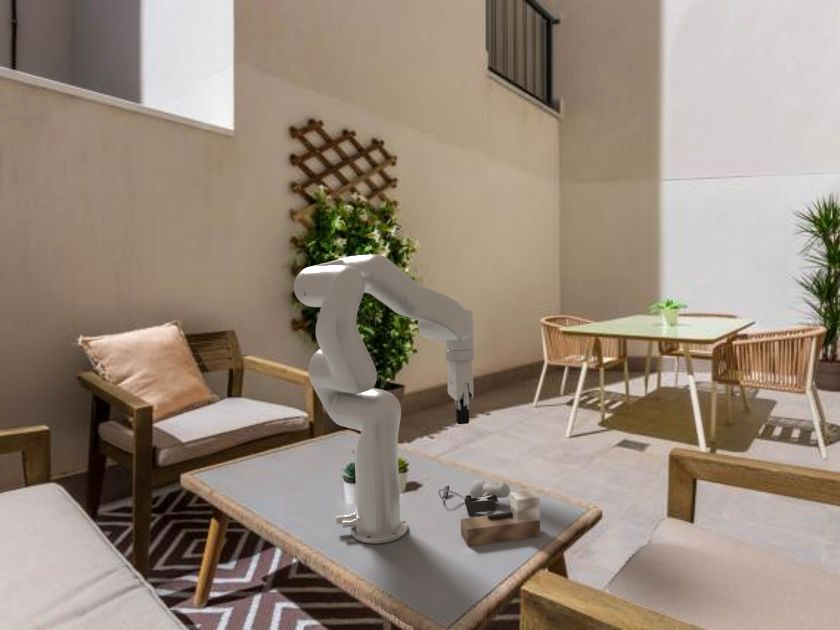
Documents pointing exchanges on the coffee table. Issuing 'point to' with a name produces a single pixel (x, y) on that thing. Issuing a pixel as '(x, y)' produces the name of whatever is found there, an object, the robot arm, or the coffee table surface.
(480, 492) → the clip-on lamp
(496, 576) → the coffee table surface
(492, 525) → the charging dock
